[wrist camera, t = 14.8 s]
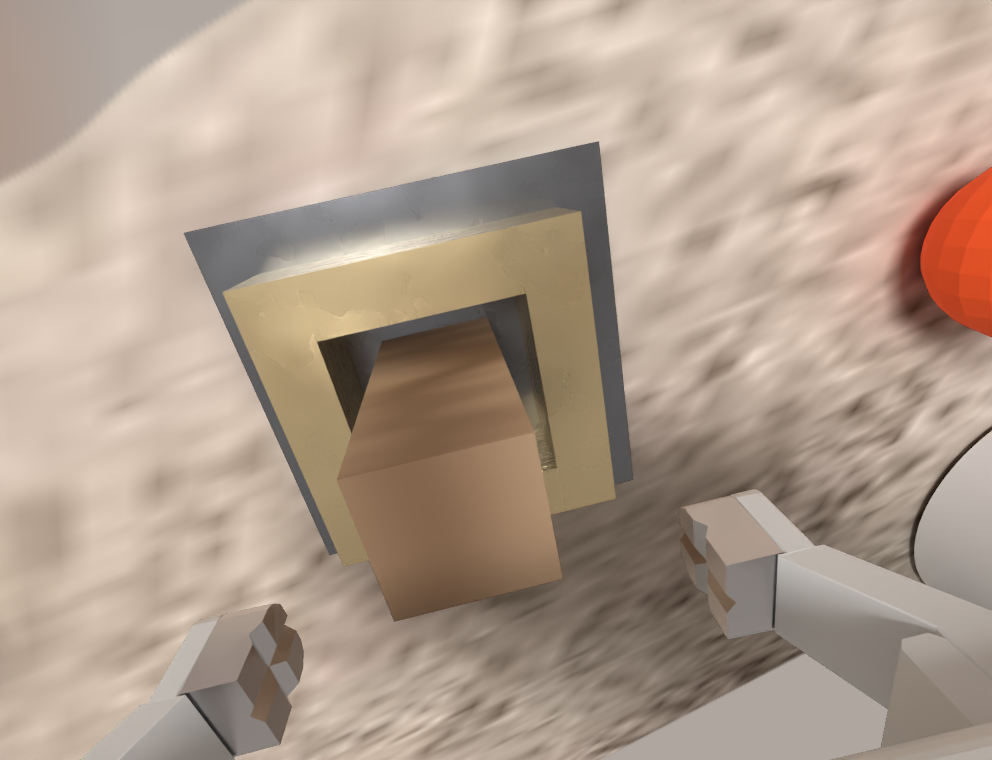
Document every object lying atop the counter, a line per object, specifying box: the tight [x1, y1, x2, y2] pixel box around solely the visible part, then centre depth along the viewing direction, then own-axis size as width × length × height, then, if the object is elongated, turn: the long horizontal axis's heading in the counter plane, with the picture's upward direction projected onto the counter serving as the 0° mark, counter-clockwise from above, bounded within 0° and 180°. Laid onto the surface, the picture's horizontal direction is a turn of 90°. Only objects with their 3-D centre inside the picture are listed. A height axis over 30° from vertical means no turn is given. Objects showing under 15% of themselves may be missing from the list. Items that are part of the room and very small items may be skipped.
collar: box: [184, 141, 633, 566], centre depth 17 cm, size 14×14×4 cm
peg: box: [337, 317, 563, 622], centre depth 14 cm, size 4×4×9 cm
